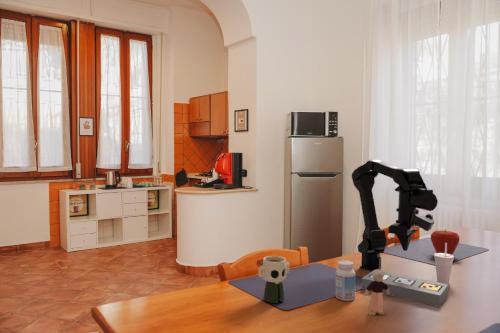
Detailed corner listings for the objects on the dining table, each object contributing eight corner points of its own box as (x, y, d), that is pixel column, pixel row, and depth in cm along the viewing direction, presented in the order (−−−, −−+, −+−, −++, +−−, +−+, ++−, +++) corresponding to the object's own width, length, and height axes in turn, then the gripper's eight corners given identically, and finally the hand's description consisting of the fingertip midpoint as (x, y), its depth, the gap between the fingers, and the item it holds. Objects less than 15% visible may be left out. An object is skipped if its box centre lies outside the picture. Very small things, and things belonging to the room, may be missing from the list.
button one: (370, 283, 134) (370, 275, 133) (375, 279, 138) (375, 272, 137) (384, 287, 130) (384, 279, 130) (389, 283, 134) (389, 275, 134)
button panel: (361, 288, 132) (361, 278, 132) (374, 279, 141) (374, 269, 141) (439, 306, 117) (440, 295, 117) (448, 295, 127) (448, 284, 126)
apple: (459, 255, 174) (460, 228, 173) (457, 261, 165) (458, 232, 164) (432, 251, 180) (433, 225, 179) (428, 257, 171) (429, 229, 170)
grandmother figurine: (371, 318, 109) (372, 272, 108) (361, 312, 113) (363, 268, 112) (392, 313, 112) (393, 269, 112) (383, 308, 116) (384, 265, 115)
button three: (419, 294, 124) (420, 286, 124) (424, 290, 128) (424, 282, 128) (437, 298, 121) (437, 290, 121) (440, 294, 125) (441, 285, 125)
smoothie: (455, 286, 135) (457, 245, 134) (435, 284, 136) (436, 244, 135) (450, 280, 141) (451, 241, 140) (430, 278, 142) (432, 240, 142)
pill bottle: (355, 295, 126) (356, 260, 125) (354, 302, 120) (355, 266, 119) (336, 293, 127) (337, 258, 127) (334, 300, 122) (334, 264, 121)
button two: (393, 289, 129) (394, 280, 129) (398, 284, 133) (398, 276, 132) (409, 292, 126) (410, 284, 125) (414, 288, 130) (414, 280, 129)
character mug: (264, 308, 115) (264, 264, 114) (252, 299, 121) (253, 258, 121) (295, 301, 120) (296, 259, 119) (282, 293, 126) (283, 253, 126)
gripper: (424, 212, 123) (421, 261, 124) (439, 205, 138) (437, 249, 139) (388, 208, 130) (386, 254, 131) (406, 201, 145) (405, 243, 146)
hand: (405, 250), depth 137 cm, fingers closed
